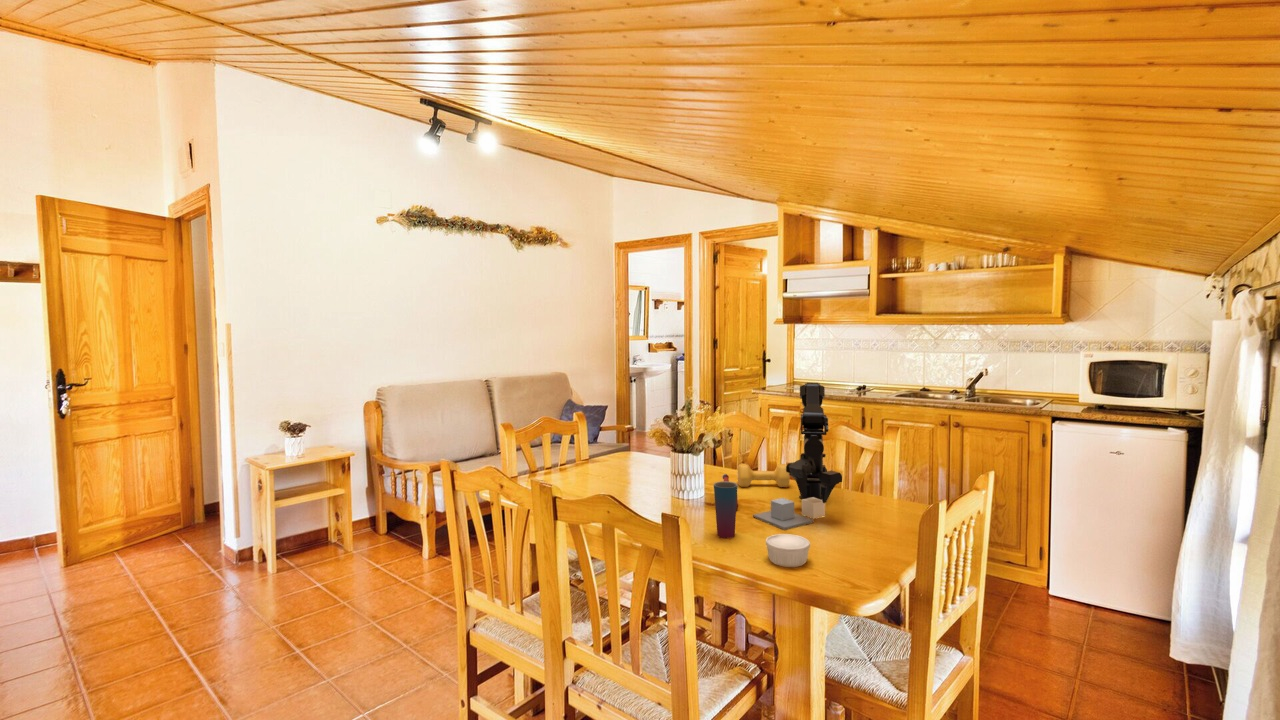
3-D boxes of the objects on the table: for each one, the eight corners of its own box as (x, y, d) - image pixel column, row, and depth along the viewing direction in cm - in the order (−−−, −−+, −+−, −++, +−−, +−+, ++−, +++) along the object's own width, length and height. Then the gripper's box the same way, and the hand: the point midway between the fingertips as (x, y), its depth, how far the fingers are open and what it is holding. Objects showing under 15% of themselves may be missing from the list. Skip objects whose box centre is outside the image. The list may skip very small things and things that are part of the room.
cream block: (813, 512, 197) (813, 497, 196) (824, 516, 192) (824, 500, 192) (801, 515, 194) (801, 499, 194) (813, 519, 190) (813, 503, 189)
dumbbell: (738, 489, 224) (738, 467, 224) (737, 482, 233) (736, 461, 233) (790, 490, 222) (790, 467, 222) (787, 483, 231) (787, 462, 231)
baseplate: (781, 510, 198) (781, 507, 198) (813, 522, 186) (813, 519, 186) (752, 517, 192) (752, 514, 192) (784, 530, 180) (784, 527, 180)
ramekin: (778, 549, 166) (778, 530, 166) (817, 559, 159) (817, 539, 158) (757, 562, 157) (757, 542, 157) (798, 573, 150) (798, 552, 150)
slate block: (782, 513, 193) (782, 497, 192) (794, 517, 188) (794, 501, 188) (771, 516, 190) (770, 500, 190) (782, 520, 186) (782, 504, 186)
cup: (739, 532, 179) (739, 482, 178) (735, 540, 173) (735, 488, 172) (716, 530, 181) (716, 480, 180) (711, 538, 175) (711, 486, 174)
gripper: (773, 448, 196) (773, 496, 197) (817, 459, 180) (817, 511, 181) (798, 444, 201) (798, 490, 202) (843, 454, 185) (843, 505, 186)
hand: (813, 499), depth 193 cm, fingers open, 9 cm apart
